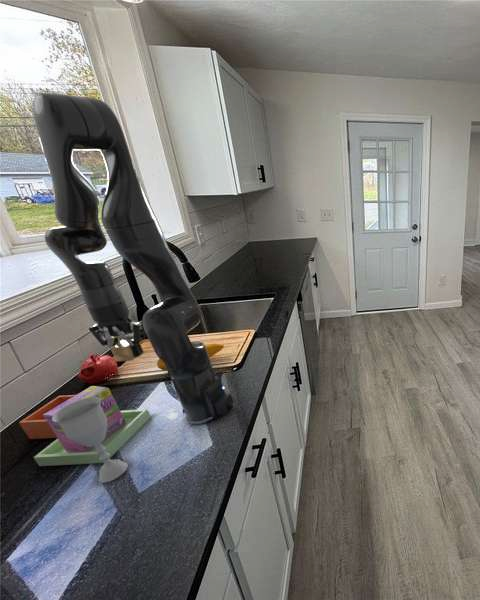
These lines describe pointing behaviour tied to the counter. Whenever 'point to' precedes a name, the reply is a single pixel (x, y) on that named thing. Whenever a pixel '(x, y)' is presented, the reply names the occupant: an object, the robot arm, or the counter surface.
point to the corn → (211, 351)
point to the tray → (113, 443)
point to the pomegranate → (97, 368)
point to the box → (108, 407)
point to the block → (123, 351)
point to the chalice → (90, 432)
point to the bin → (42, 420)
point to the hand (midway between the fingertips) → (130, 355)
